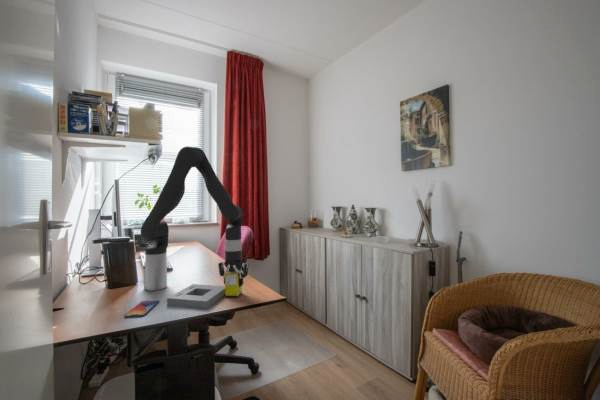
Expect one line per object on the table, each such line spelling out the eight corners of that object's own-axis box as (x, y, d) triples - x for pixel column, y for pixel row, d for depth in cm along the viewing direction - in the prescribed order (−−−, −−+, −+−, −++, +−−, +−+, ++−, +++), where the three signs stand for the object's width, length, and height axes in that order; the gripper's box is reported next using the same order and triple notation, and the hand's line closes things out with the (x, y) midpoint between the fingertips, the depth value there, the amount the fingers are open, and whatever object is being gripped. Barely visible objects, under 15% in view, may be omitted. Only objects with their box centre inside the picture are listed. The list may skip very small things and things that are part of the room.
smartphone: (160, 302, 114) (160, 300, 114) (144, 317, 100) (144, 314, 100) (141, 303, 114) (141, 301, 114) (122, 318, 99) (123, 316, 99)
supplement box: (242, 292, 124) (242, 269, 124) (237, 297, 118) (237, 273, 118) (229, 292, 125) (229, 269, 125) (224, 297, 119) (224, 272, 119)
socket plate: (167, 305, 110) (167, 297, 110) (192, 290, 128) (192, 283, 128) (206, 308, 106) (206, 301, 106) (227, 292, 124) (227, 286, 124)
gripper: (214, 250, 119) (215, 287, 119) (244, 251, 116) (245, 289, 116) (222, 247, 126) (223, 282, 126) (251, 248, 123) (251, 284, 124)
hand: (233, 285), depth 121 cm, fingers closed on supplement box, 6 cm apart
